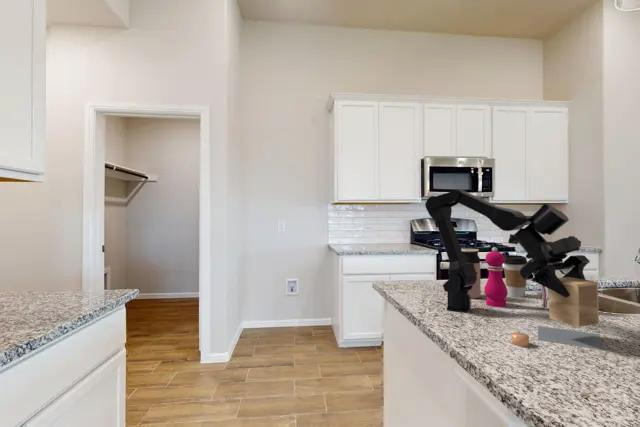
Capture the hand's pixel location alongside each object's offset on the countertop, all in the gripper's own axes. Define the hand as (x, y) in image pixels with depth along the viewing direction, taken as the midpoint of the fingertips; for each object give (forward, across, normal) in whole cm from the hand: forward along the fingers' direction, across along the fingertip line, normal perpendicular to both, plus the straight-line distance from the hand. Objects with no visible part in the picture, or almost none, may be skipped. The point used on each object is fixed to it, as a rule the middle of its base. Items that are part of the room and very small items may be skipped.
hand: (578, 295), depth 82 cm
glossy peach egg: (+6, -15, +11) cm, 19 cm away
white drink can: (-8, +22, +25) cm, 34 cm away
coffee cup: (-20, +26, +37) cm, 50 cm away
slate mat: (+6, 0, +10) cm, 12 cm away
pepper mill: (-15, +9, +32) cm, 37 cm away
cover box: (+4, 0, +6) cm, 7 cm away
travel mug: (-24, +9, +41) cm, 49 cm away
